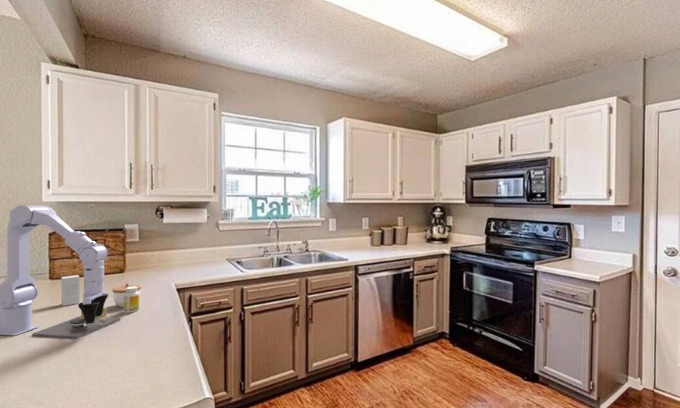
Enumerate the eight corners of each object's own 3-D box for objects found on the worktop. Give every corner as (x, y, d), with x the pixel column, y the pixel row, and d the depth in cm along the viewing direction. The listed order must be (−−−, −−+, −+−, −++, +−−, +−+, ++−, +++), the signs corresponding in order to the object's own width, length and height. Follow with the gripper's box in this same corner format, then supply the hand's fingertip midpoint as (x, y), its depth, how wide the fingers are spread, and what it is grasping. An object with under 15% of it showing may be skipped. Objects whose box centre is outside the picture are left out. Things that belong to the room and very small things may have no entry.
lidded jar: (106, 307, 144) (106, 285, 144) (130, 300, 154) (130, 280, 154) (123, 309, 140) (123, 287, 140) (146, 303, 150) (146, 282, 150)
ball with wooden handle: (67, 324, 116) (67, 313, 116) (72, 320, 121) (72, 309, 121) (104, 320, 121) (104, 310, 121) (107, 316, 125) (107, 306, 125)
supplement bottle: (121, 313, 136) (121, 289, 136) (128, 308, 141) (128, 286, 142) (135, 312, 137) (135, 289, 137) (141, 308, 142) (141, 285, 142)
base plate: (32, 335, 112) (32, 329, 112) (80, 318, 130) (80, 312, 130) (77, 338, 110) (77, 332, 110) (120, 320, 128) (120, 314, 128)
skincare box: (78, 301, 152) (78, 275, 152) (79, 303, 149) (79, 276, 149) (61, 304, 148) (61, 277, 148) (62, 306, 145) (62, 278, 145)
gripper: (101, 284, 111) (100, 325, 111) (113, 275, 125) (113, 312, 125) (75, 285, 109) (75, 327, 109) (90, 276, 123) (90, 314, 123)
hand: (93, 319), depth 117 cm, fingers open, 7 cm apart
